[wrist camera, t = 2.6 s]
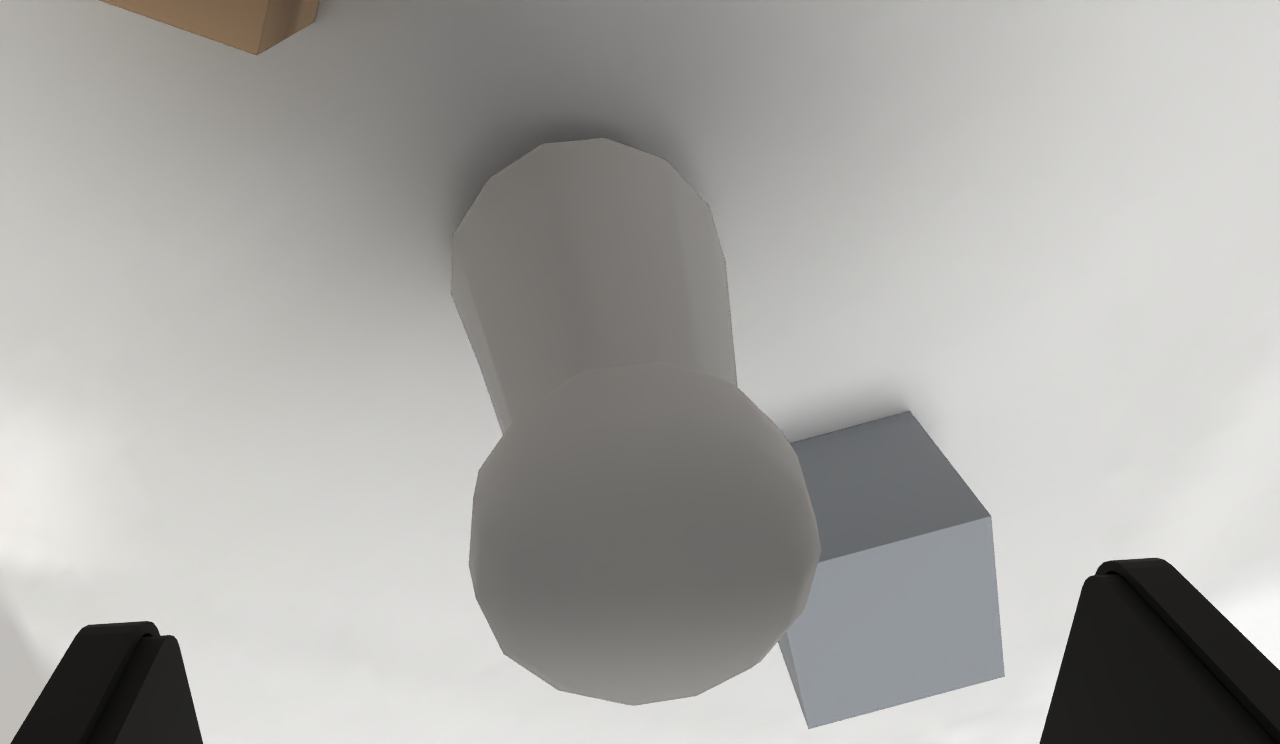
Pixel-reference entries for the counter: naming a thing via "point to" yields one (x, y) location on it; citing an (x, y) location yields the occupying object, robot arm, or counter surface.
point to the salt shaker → (621, 435)
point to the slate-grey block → (891, 575)
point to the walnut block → (230, 19)
